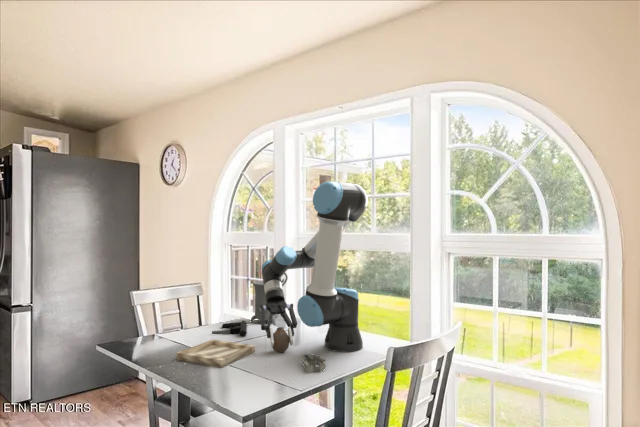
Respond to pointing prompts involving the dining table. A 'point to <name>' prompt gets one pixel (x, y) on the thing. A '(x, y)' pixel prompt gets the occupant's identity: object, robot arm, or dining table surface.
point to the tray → (215, 353)
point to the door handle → (233, 328)
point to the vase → (280, 340)
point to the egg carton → (313, 362)
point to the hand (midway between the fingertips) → (282, 344)
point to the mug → (263, 300)
